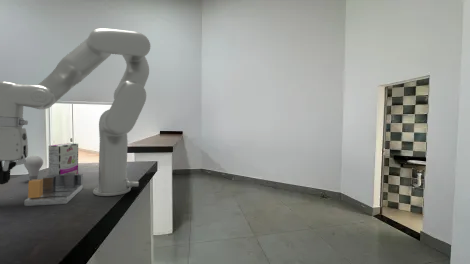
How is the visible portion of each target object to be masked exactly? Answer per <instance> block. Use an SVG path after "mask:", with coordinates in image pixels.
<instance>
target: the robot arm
mask: <svg viewBox="0 0 470 264" xmlns="http://www.w3.org/2000/svg"><path fill="white" fill-rule="evenodd" d="M150 50H151V42H150V40H149V38H148V36H146V35H145V34H143V33H142V32H138V31H133V30H123V29H115V28H107V27H106V28H105V27H103V28H102V27H101V28H100V27H99V28H95V29H93V30H92V31H91V32H89V35H88V37H87V38H86V39H84V41H82V42H81V43H80V44H78V46H76V47H75V48H74V49H73V50H72V51H70V52H69V53H67V54H66V55H65V56H63V57H62V59H60V60H59V62H58V63H57V65H56V67H54V69H53V70H52V71H51V73H49V74H48V75H47V76H46V77H45V78H44V79H43V80H41V82H39V83H38V84H26V83H24V84H21V83H18V82H17V83H16V82H11V81H5V80H4V81H3V80H0V185H4V184H7V183H9V181H10V179H11V170H13V169H14V168H15V167H16V166H19V165H24V164H25V163H26V159H27V158H28V157H29V156H28V155H29V144H28V134H27V129H26V128H25V127H23V126H25V125H26V126H27V125H28V123H29V121H28V120H24V118H23V117H24V107H26V108H31V109H32V108H33V109H36V110H47V109H49V108H51V107H53V105H55V103H57V102H58V101H59V100H60V99H61V98H62V97H63V96H65V94H67V93H68V92H69V91H70V90H71V89H72V88H74V87H75V86H77V85H78V84H80V83H81V82H82V81H84V79H86V77H88V76H90V75H91V73H92V72H94V71H95V70H96V69H97V68H98V67H99V66H100V65H101V64H103V63H104V62H105V61H106V60H107V59H108V58H109V57H110V56H111V55H119V56H120V55H121V56H122V57H123V58H124V61H125V63H126V69H125V71H124V73H123V75H122V77H121V79H120V81H119V83H118V85H117V87H116V88H115V90H114V92H113V102H112V104H111V106H110V108H109V109H107V110H105V111H104V112H103V113H101V115H100V117H99V121H98V135H99V136H98V137H99V146H98V147H99V148H98V149H99V151H98V185H97V187H95V188H94V189H93V190H92V192H93V194H94V195H95V196H100V197H112V196H120V195H125V194H127V193H129V192H130V191H131V187H134V188H135V187H139V184H140V182H139V181H138V180H137V181H136V180H129V177H127V172H128V168H127V166H128V148H129V147H128V133H130V132H131V131H132V130H133V128H134V127H135V125H136V123H137V120H138V119H139V117H140V115H141V112H142V110H143V108H144V106H145V104H146V100H147V92H146V89H145V86H146V83H147V80H148V78H149V75H150V66H149V63H148V60H147V58H146V56H147V55H148V54H149V52H150ZM3 163H4V164H3Z"/></svg>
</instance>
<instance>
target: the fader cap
mask: <svg viewBox="0 0 470 264" xmlns="http://www.w3.org/2000/svg"><path fill="white" fill-rule="evenodd" d="M27 187H28V189H27V191H28V193H27V198H38V197H41V196H42V195H43V178H42V179H41V178H40V179H38V178H37V179H32V180H30V179H29V180H28V186H27Z"/></svg>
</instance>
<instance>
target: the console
mask: <svg viewBox="0 0 470 264" xmlns="http://www.w3.org/2000/svg"><path fill="white" fill-rule="evenodd" d="M42 179H43V195H42V196H41V197H38V198H28V197H27V198H26V199H24V207H28V206H29V207H30V206H31V207H32V206H45V205H46V206H49V205H63V204H65V205H66V204H69V202H70V201H71V200H72V199H73V198H74V197H76V196H77V195H78V194H79V192H81V191H82V190H83V188H84V187H83V186H84V185H83V184H84V174H83V173H78V174H75V173H66V174H54V175H49V174H47V175H46V176H44V177H42Z"/></svg>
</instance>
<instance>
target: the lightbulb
mask: <svg viewBox="0 0 470 264" xmlns="http://www.w3.org/2000/svg"><path fill="white" fill-rule="evenodd" d="M25 159H26V163H25V164H23V166H24V168H25V169H26V171H27V172H28V176H29V177H28V178H29V181H30V180H32V179H38V177H39V174H40V170H41V168H42V167H43V165H44V160H43V158H42V157H41V156H38V155H30V156H27V158H25Z"/></svg>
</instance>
